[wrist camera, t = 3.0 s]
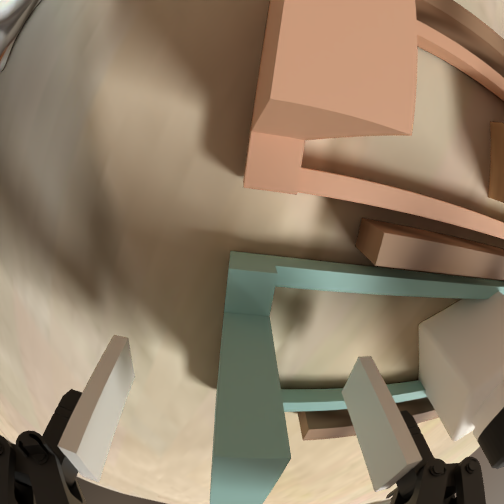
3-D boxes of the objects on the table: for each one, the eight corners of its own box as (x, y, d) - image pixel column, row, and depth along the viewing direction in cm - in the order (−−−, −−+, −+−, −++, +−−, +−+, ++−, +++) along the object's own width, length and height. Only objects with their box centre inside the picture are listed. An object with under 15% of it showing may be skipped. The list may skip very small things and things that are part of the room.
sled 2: (216, 394, 17) (208, 518, 8) (230, 250, 13) (216, 412, 5) (466, 377, 19) (509, 440, 10) (514, 282, 15) (582, 337, 7)
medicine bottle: (416, 382, 19) (476, 492, 7) (416, 322, 16) (513, 457, 5) (479, 343, 18) (548, 430, 7) (487, 279, 15) (589, 371, 4)
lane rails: (298, 414, 18) (302, 440, 16) (384, -10, 8) (404, -27, 6) (466, 389, 20) (477, 404, 18) (551, 113, 10) (570, 116, 8)
